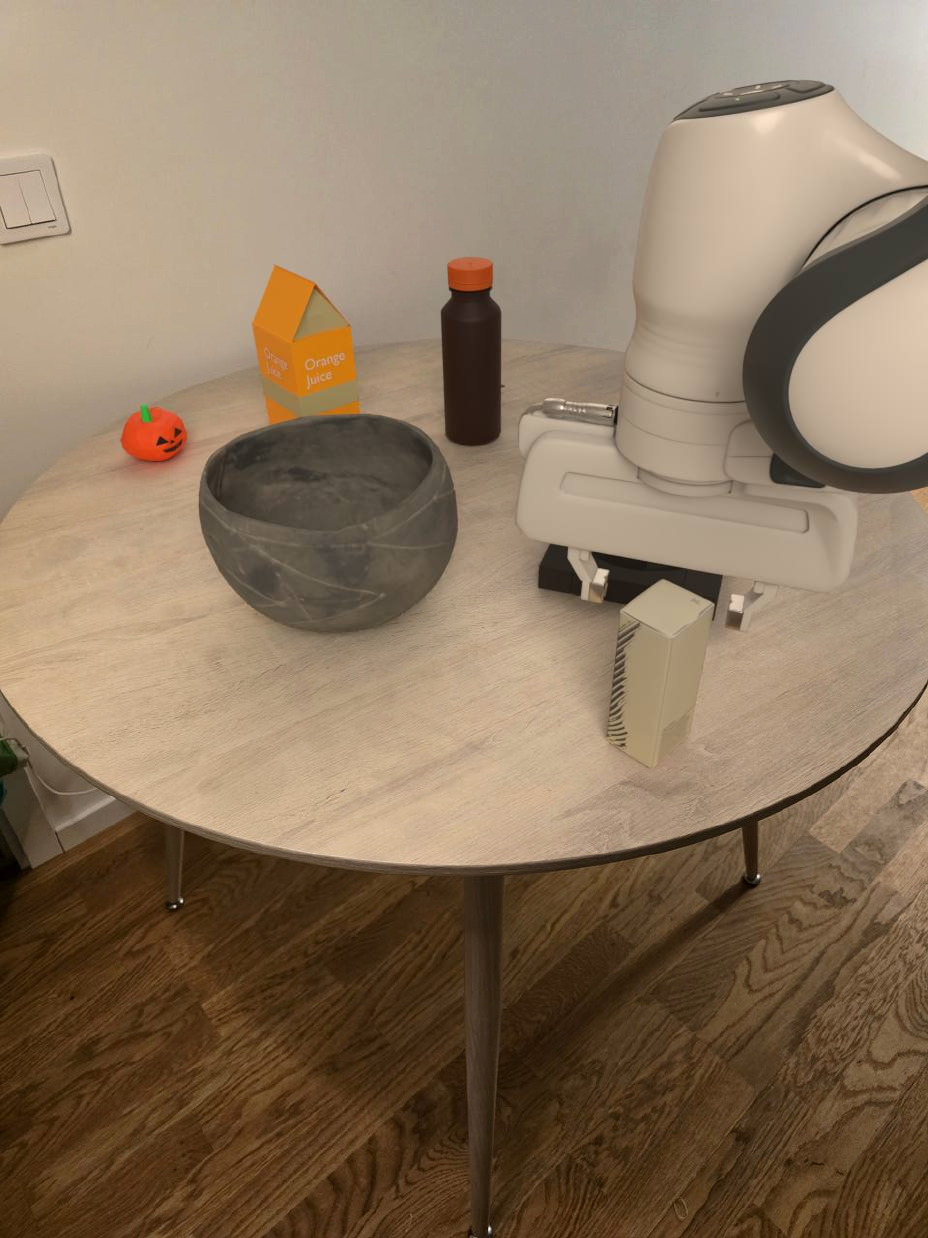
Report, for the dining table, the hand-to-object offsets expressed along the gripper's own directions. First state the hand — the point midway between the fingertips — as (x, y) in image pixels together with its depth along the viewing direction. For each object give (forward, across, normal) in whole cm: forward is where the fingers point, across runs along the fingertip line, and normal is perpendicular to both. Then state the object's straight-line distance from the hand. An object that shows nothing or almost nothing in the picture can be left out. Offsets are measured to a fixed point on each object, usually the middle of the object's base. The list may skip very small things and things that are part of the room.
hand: (663, 610), depth 57 cm
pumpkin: (+13, -63, +28) cm, 70 cm away
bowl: (+13, -29, +8) cm, 32 cm away
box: (+12, 0, 0) cm, 12 cm away
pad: (+12, -5, +25) cm, 28 cm away
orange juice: (+13, -46, +36) cm, 59 cm away
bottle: (+13, -29, +44) cm, 54 cm away
